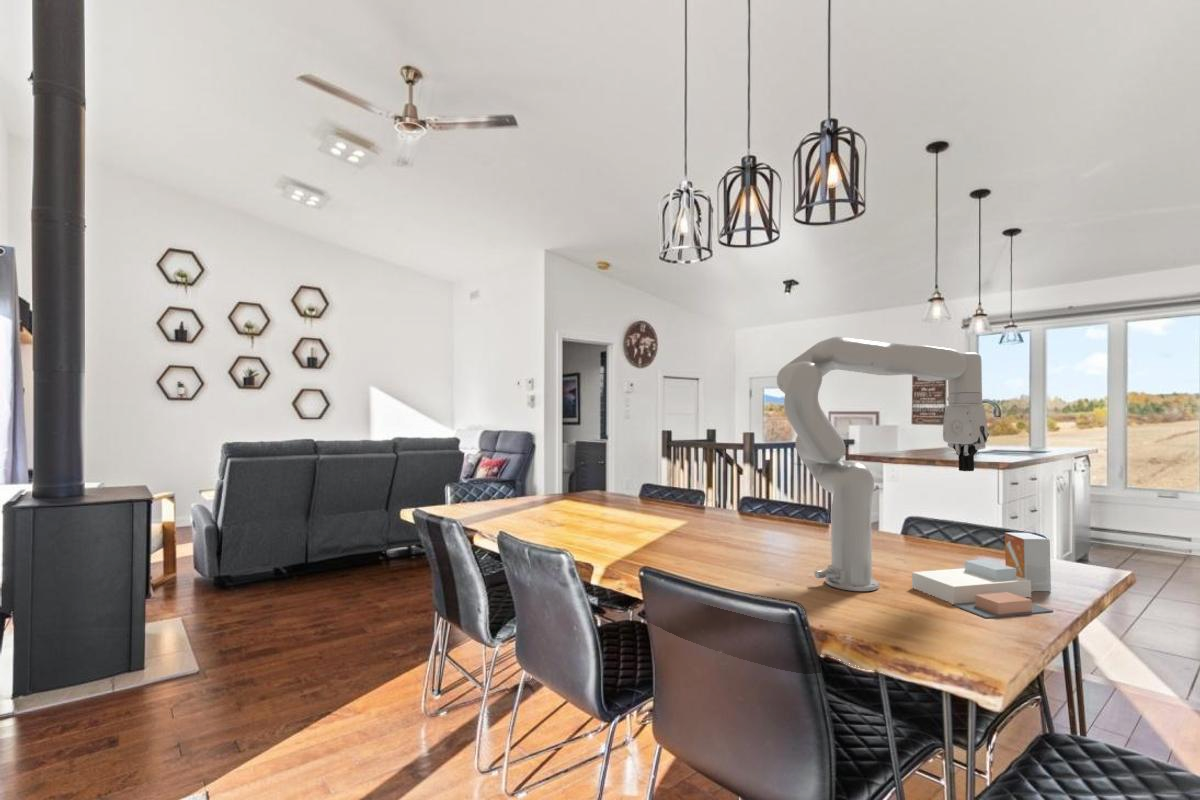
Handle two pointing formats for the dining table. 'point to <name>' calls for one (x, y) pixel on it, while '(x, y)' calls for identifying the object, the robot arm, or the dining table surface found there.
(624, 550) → the dining table surface
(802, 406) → the robot arm
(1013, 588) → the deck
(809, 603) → the dining table surface
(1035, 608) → the mat
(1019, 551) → the small box
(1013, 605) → the terracotta tile
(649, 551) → the dining table surface
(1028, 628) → the dining table surface
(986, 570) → the blue-grey tile
